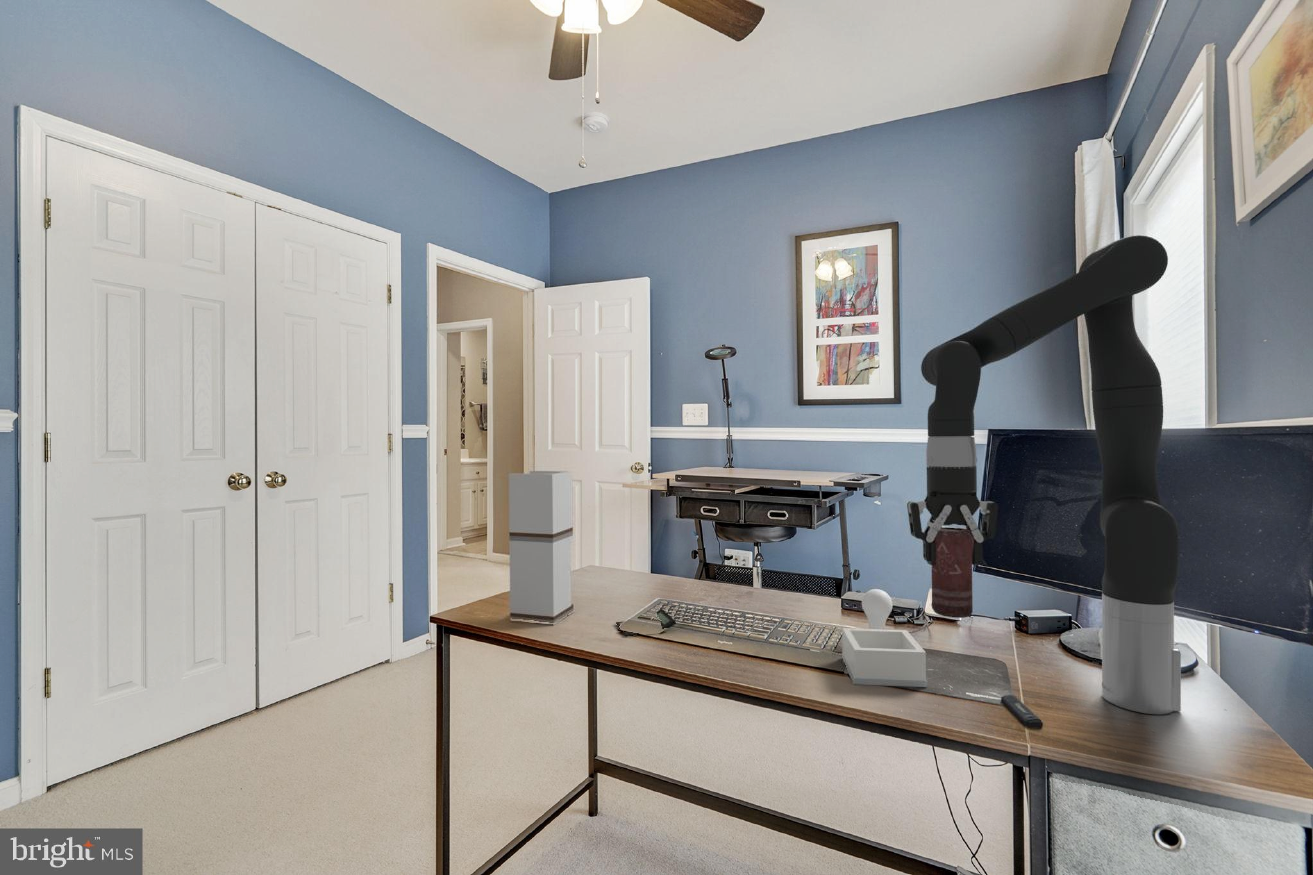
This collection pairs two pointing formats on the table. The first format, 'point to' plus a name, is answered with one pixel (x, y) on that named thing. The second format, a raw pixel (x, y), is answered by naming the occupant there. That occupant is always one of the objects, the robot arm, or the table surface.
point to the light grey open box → (883, 657)
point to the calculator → (665, 621)
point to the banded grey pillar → (540, 545)
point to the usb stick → (1022, 711)
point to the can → (953, 573)
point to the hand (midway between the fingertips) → (952, 563)
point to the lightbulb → (877, 608)
